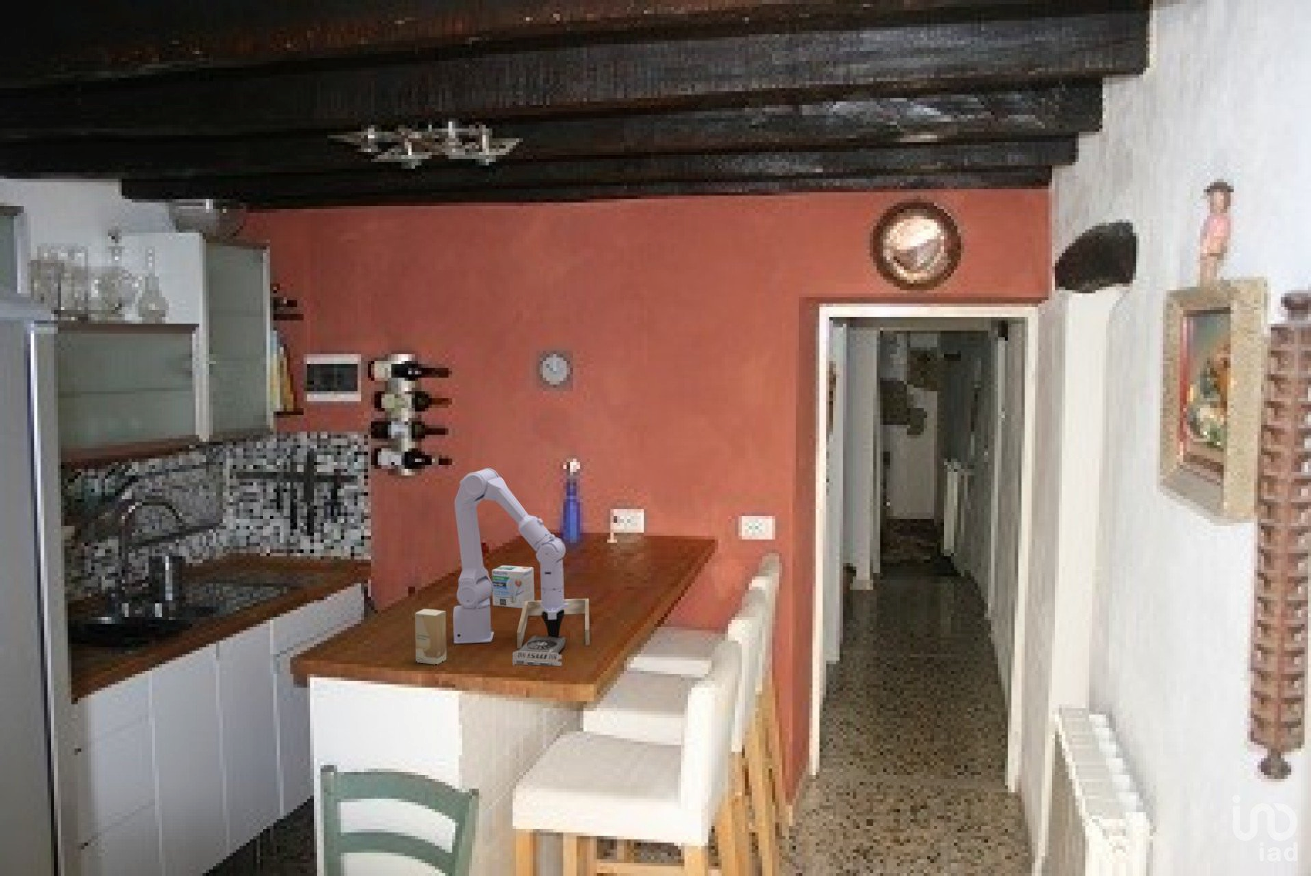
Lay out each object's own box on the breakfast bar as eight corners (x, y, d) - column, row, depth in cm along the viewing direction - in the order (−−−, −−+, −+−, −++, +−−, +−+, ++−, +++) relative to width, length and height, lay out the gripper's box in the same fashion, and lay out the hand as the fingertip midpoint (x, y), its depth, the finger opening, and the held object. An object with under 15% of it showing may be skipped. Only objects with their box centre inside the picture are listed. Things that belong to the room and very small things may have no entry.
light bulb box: (492, 605, 286) (490, 569, 285) (503, 600, 293) (502, 564, 292) (524, 608, 283) (523, 571, 282) (535, 602, 289) (534, 566, 288)
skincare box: (415, 662, 235) (412, 612, 234) (425, 657, 239) (423, 608, 238) (438, 665, 233) (435, 614, 232) (448, 659, 237) (446, 610, 236)
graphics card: (560, 654, 229) (511, 651, 231) (560, 670, 229) (511, 667, 231) (577, 634, 246) (531, 632, 248) (577, 649, 246) (531, 646, 248)
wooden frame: (517, 648, 245) (516, 632, 244) (524, 614, 275) (524, 601, 275) (589, 645, 246) (589, 629, 246) (589, 612, 277) (588, 598, 276)
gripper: (567, 593, 240) (569, 647, 241) (568, 579, 254) (570, 631, 255) (538, 594, 239) (540, 649, 240) (541, 580, 254) (542, 632, 255)
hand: (553, 639), depth 248 cm, fingers closed
